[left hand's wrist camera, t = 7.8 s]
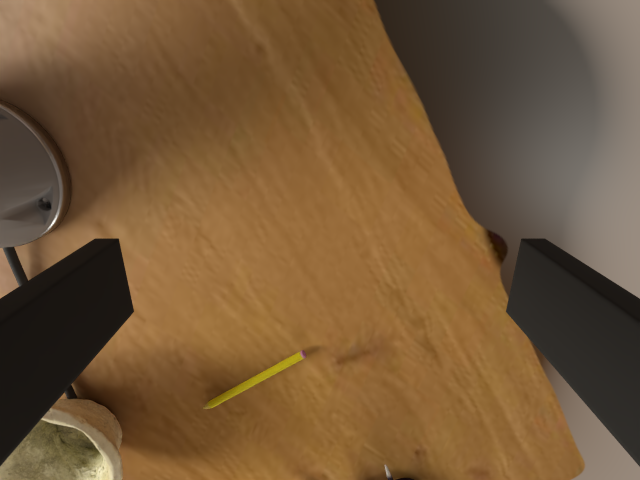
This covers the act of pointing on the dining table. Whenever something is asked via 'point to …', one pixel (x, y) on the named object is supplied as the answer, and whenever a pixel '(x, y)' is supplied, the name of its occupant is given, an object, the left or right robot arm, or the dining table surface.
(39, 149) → the left robot arm
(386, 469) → the toy
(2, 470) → the bowl
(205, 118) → the dining table surface
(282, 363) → the pencil
